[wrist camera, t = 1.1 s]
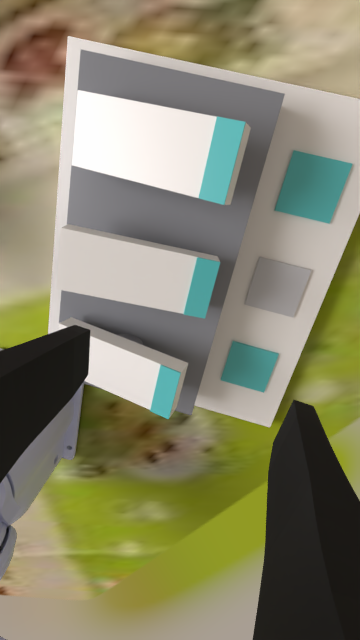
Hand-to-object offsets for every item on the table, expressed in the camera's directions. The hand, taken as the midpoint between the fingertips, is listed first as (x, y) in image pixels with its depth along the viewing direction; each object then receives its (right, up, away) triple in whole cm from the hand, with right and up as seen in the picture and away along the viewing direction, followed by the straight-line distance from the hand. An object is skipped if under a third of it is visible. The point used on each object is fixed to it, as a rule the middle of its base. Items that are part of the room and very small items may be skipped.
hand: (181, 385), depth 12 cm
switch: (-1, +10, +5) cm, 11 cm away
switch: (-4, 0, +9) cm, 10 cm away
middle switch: (-2, +5, +7) cm, 9 cm away
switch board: (+1, +6, +11) cm, 13 cm away
